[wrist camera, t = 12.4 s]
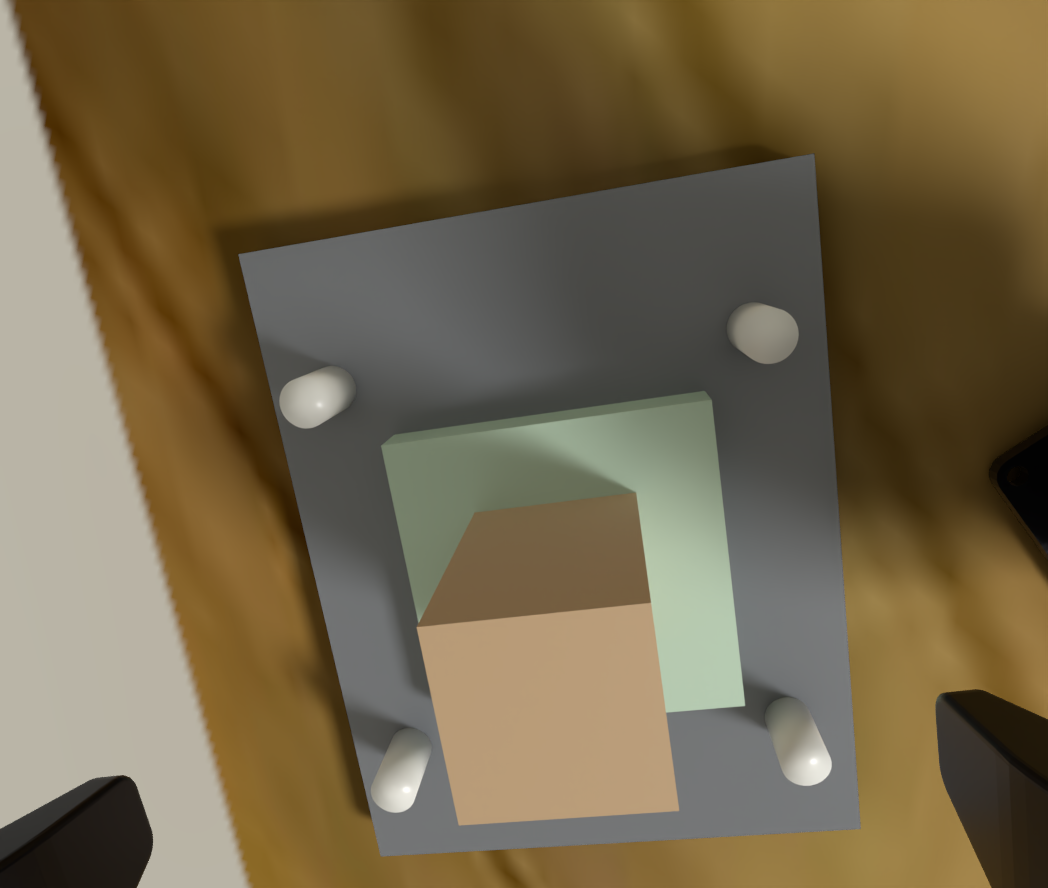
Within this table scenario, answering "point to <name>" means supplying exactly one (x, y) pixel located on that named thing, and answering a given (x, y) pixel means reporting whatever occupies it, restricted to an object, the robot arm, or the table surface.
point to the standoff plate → (565, 384)
